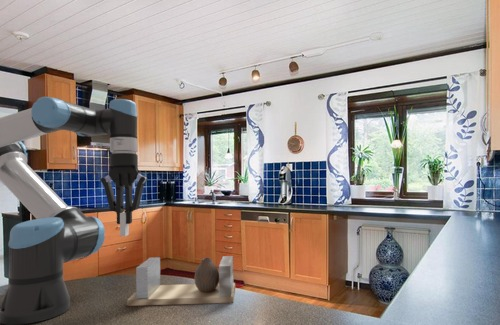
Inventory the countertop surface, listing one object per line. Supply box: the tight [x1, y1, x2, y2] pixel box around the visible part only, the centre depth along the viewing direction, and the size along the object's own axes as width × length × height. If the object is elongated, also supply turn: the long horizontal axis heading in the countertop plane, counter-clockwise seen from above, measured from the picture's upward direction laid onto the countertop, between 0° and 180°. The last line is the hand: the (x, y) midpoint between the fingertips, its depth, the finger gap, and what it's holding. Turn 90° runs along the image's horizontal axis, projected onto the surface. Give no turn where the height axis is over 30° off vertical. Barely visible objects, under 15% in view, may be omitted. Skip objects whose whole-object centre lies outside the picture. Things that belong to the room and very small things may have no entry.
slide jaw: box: [135, 256, 161, 298], centre depth 93 cm, size 3×12×8 cm, turn 0°
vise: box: [126, 255, 236, 307], centre depth 93 cm, size 28×12×10 cm, turn 90°
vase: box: [194, 257, 219, 292], centre depth 93 cm, size 7×7×9 cm
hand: (124, 235), depth 93 cm, fingers closed
